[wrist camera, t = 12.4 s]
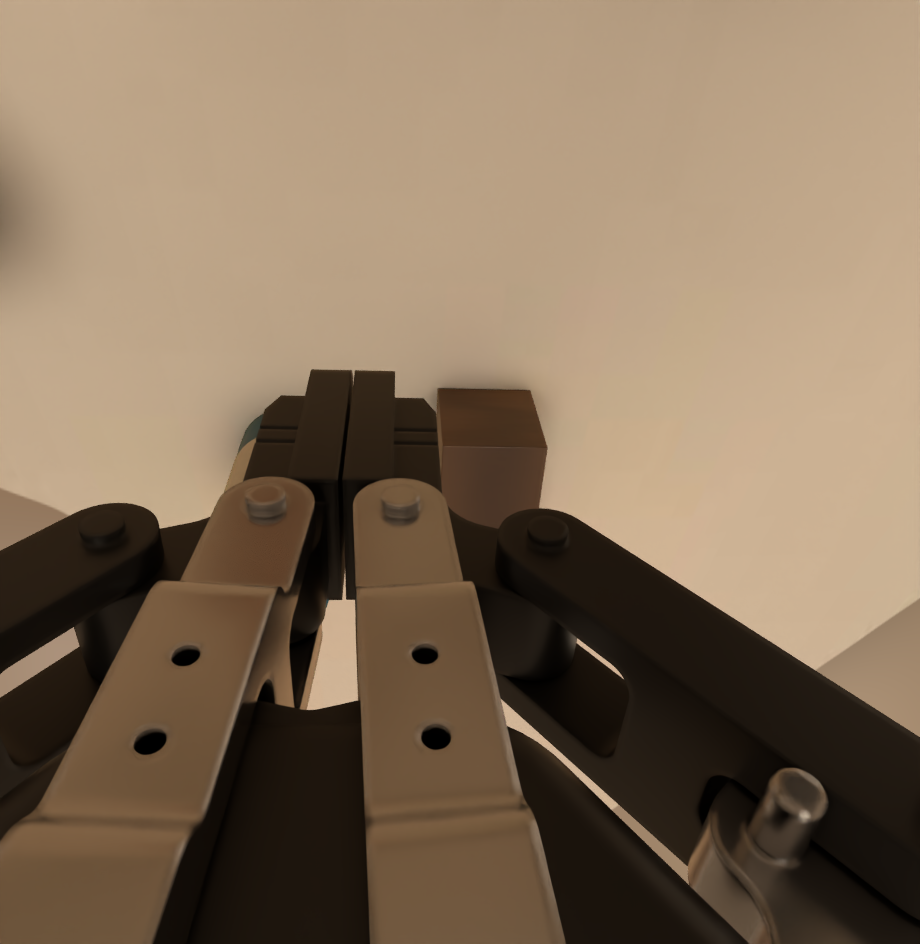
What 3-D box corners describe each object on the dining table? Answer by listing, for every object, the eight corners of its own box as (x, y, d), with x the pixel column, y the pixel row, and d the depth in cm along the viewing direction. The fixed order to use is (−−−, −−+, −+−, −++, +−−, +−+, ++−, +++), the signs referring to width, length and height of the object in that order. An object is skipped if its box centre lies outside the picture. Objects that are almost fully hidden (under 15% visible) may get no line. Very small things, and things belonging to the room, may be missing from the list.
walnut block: (431, 513, 54) (435, 579, 48) (437, 388, 48) (442, 445, 43) (515, 514, 54) (528, 579, 49) (530, 390, 49) (547, 447, 43)
